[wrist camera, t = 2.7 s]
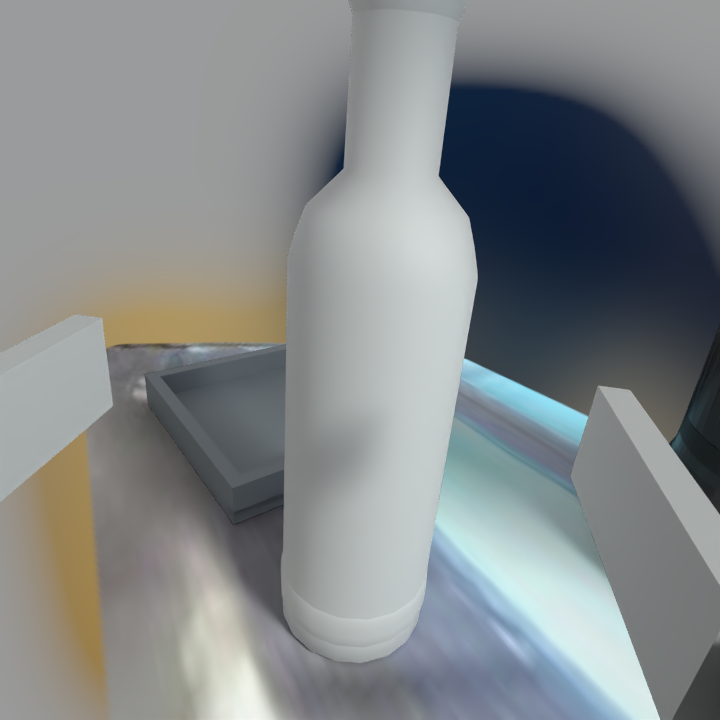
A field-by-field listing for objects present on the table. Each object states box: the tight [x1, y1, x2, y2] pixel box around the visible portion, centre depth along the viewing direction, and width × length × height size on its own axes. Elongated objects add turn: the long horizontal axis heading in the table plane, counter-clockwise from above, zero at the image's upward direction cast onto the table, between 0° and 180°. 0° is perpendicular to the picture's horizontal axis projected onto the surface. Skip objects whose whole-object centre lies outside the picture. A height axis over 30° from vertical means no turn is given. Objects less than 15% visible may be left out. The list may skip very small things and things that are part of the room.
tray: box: [145, 345, 286, 524], centre depth 45 cm, size 18×18×3 cm
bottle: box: [281, 0, 478, 663], centre depth 23 cm, size 8×8×30 cm
